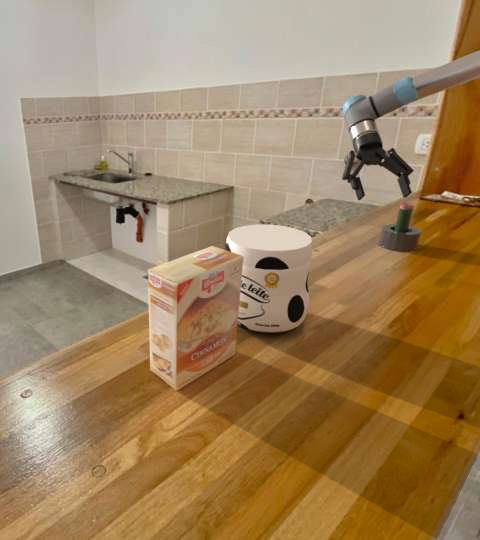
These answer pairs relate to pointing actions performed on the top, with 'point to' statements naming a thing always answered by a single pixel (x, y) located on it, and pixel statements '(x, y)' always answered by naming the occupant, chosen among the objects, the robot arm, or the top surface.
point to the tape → (399, 238)
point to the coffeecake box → (193, 314)
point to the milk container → (272, 276)
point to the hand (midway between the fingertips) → (384, 196)
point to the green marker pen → (404, 217)
